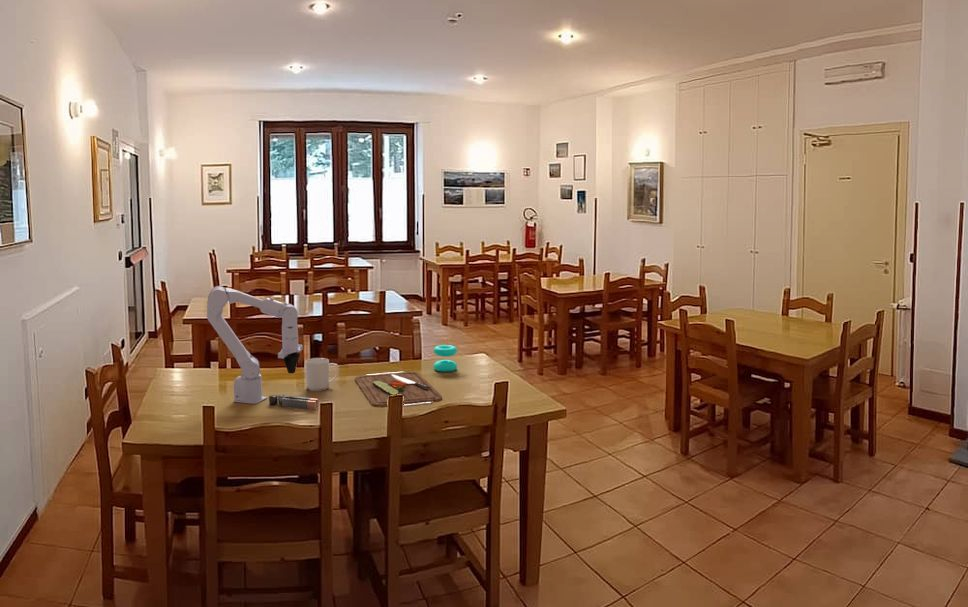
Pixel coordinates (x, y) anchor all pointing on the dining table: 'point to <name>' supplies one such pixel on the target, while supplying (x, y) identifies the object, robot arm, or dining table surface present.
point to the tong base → (293, 403)
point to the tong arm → (296, 398)
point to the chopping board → (397, 388)
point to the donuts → (445, 351)
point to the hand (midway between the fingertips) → (291, 372)
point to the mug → (318, 374)
